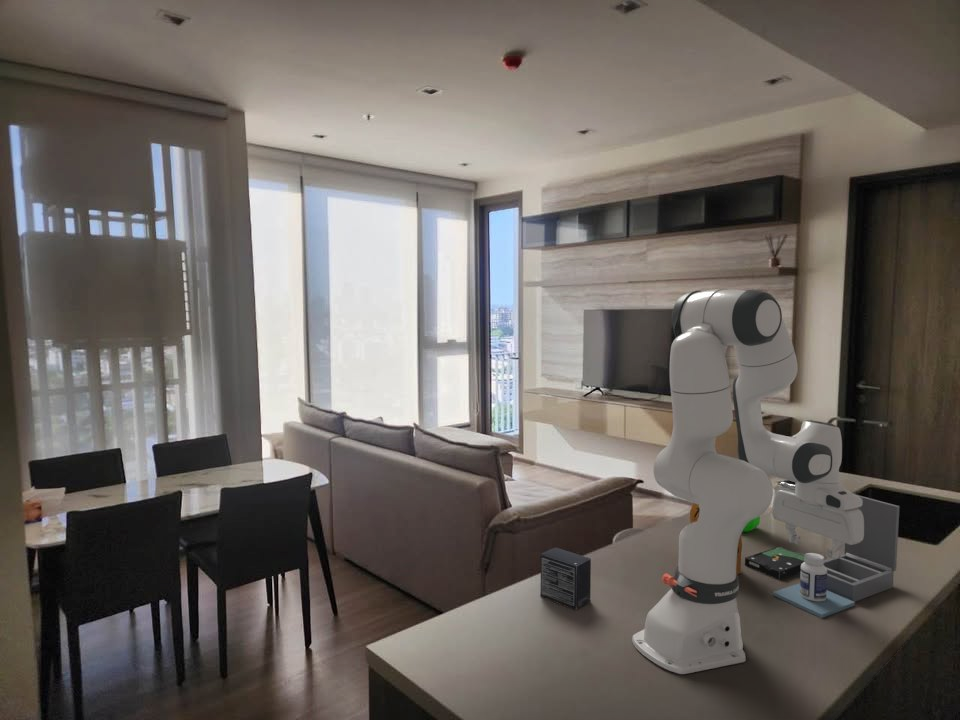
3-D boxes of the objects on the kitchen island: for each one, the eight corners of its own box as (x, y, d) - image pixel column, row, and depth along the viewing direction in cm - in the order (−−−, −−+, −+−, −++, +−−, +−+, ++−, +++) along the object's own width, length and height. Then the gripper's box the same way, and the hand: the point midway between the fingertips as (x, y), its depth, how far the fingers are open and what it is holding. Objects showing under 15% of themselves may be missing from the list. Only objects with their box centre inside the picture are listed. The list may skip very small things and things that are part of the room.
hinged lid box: (852, 602, 139) (856, 517, 138) (800, 580, 151) (803, 501, 149) (895, 586, 147) (899, 506, 145) (842, 566, 159) (845, 491, 157)
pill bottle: (826, 595, 141) (828, 554, 141) (825, 604, 137) (827, 562, 136) (800, 589, 144) (802, 549, 143) (798, 598, 140) (800, 557, 139)
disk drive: (780, 582, 151) (815, 568, 158) (780, 571, 151) (815, 558, 158) (743, 567, 160) (778, 554, 167) (744, 557, 160) (778, 545, 167)
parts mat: (821, 618, 132) (821, 614, 132) (772, 595, 143) (773, 592, 143) (854, 605, 138) (854, 602, 138) (805, 584, 149) (805, 581, 149)
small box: (592, 601, 141) (592, 557, 140) (576, 611, 136) (576, 566, 136) (555, 587, 148) (555, 545, 147) (539, 596, 144) (539, 553, 143)
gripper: (767, 481, 146) (764, 537, 147) (852, 505, 128) (848, 568, 129) (784, 478, 149) (781, 533, 150) (870, 501, 131) (866, 564, 132)
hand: (813, 550), depth 139 cm, fingers open, 8 cm apart
